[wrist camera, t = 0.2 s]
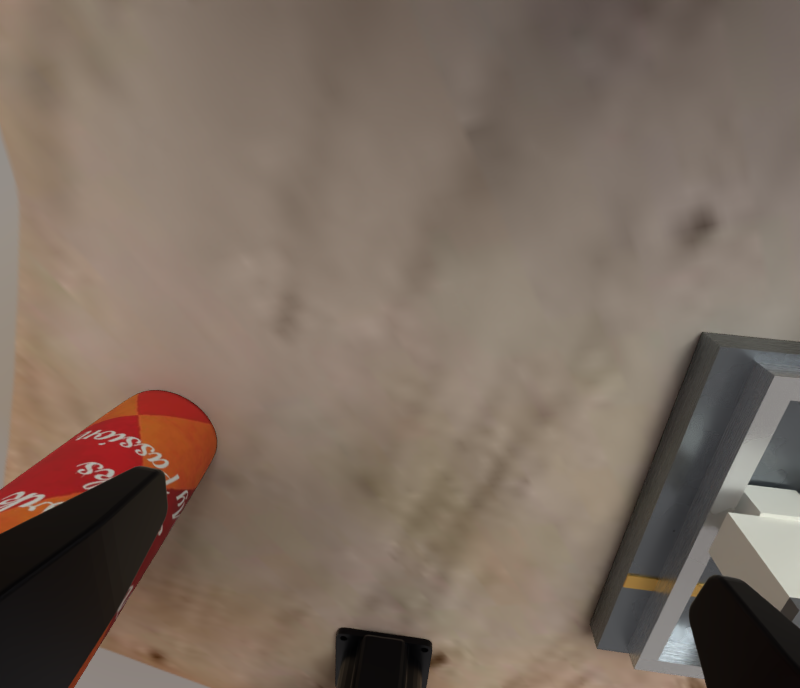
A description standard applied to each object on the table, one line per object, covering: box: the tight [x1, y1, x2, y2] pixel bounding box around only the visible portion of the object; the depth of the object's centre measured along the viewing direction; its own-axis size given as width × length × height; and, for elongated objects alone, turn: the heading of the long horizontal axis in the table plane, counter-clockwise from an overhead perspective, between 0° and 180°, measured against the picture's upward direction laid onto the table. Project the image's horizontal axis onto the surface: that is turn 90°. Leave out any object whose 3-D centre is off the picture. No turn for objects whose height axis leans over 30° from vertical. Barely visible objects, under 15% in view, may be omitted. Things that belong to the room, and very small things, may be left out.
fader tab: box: [708, 485, 800, 628], centre depth 19 cm, size 3×5×6 cm, turn 86°
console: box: [590, 332, 800, 679], centre depth 23 cm, size 20×9×3 cm, turn 176°
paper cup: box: [0, 390, 217, 688], centre depth 19 cm, size 8×8×14 cm
